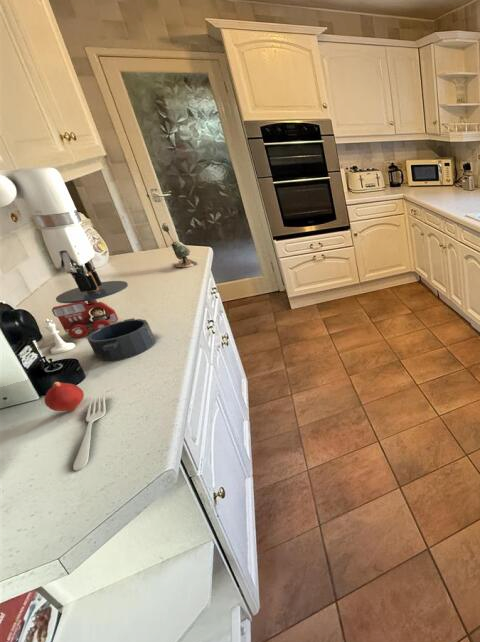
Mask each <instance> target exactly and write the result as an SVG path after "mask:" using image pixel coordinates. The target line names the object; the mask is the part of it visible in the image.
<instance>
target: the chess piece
mask: <svg viewBox="0 0 480 642" xmlns="http://www.w3.org/2000/svg"><path fill="white" fill-rule="evenodd" d="M52 322H53V320H52V319H51V320H49V319H48V318H45V319H44V321H42V324H46V325H44V328H45V329H46V330H48V331H49V332H48V335H49V336H52V338H53V340H54V344H55V345H54V346H53V347H52V348H51V349H50V354H52V355H56V354H58V355H59V354H62V353H65V352H68V351H71V350H73V349H74V348H75V347H76V344H75V343H74V342H66V341H64V340H63V339H62V338H61V336H60V335H59V333H60V330H57V329H56V324H55V323H52Z"/></svg>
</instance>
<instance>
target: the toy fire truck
mask: <svg viewBox="0 0 480 642" xmlns="http://www.w3.org/2000/svg"><path fill="white" fill-rule="evenodd" d="M51 313H52V314H53V316H54V317H56V318H57V319H58V320H59V322H60V325H61V326H62V328H63V330H64V331H65V333H67V334H69V336H70V337H71V338H74V339H82V338H85V337H86V336H87V335H88V334H89V329H92V330H93V332H94V331H96V330H98V329H100V328H103V327H105V326H108V325H110V324H114V323H117V322H118V320H119V317H118V315H117V312H116V310H115V309H114V308H112V307H110V306H109V305H107V304H106V303H104V302H102V301H98V299H95V300H90V301H85V302H78V303H65V304H61V305H57V306H54V307H52V309H51Z"/></svg>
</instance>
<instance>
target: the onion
mask: <svg viewBox="0 0 480 642" xmlns="http://www.w3.org/2000/svg"><path fill="white" fill-rule="evenodd" d="M84 397H85V394H84V390H82V388H81V387H80V386H78V385H76V384H74V383H70V382H69V383H68V382H61V381H54V383H52V386H51V387H50V388H49V389H48V390H47V391H46V394H45V395H44V404H45V406H46V407H47V408H48V409H50V410H51V411H55V412H74V411H75V410H76V409H77V408H78V406H79V405H80V404H81V403H82V402H83V400H84Z"/></svg>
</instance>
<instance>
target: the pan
mask: <svg viewBox="0 0 480 642" xmlns="http://www.w3.org/2000/svg"><path fill="white" fill-rule="evenodd" d="M86 339H87V341H88V343H89V346H90V347H91V349H92V351H93V353H94V354H95V356H96V358H97V360H98V361H100V362H107V363H108V362H109V363H110V362H116V361H123V360H125V359H129V358H132V357H135V356H138V355H140V354H142V353H144V352H146V351H148V350H149V349H151V348H152V347H154V346H155V344H156V338H155V336H154V334H153V331H152V329H151V327H150V325H149V322H148V321H147V320H146V319H141V318H136V319H135V318H133V317H132V318H128V319H124V320H121V321H117V322H114V323H110V325H108V326H105V327H103V328H100V329H98V330H96V331H94V330H93V332H91V333H90V334H89V335H88V336H87V337H86Z"/></svg>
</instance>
